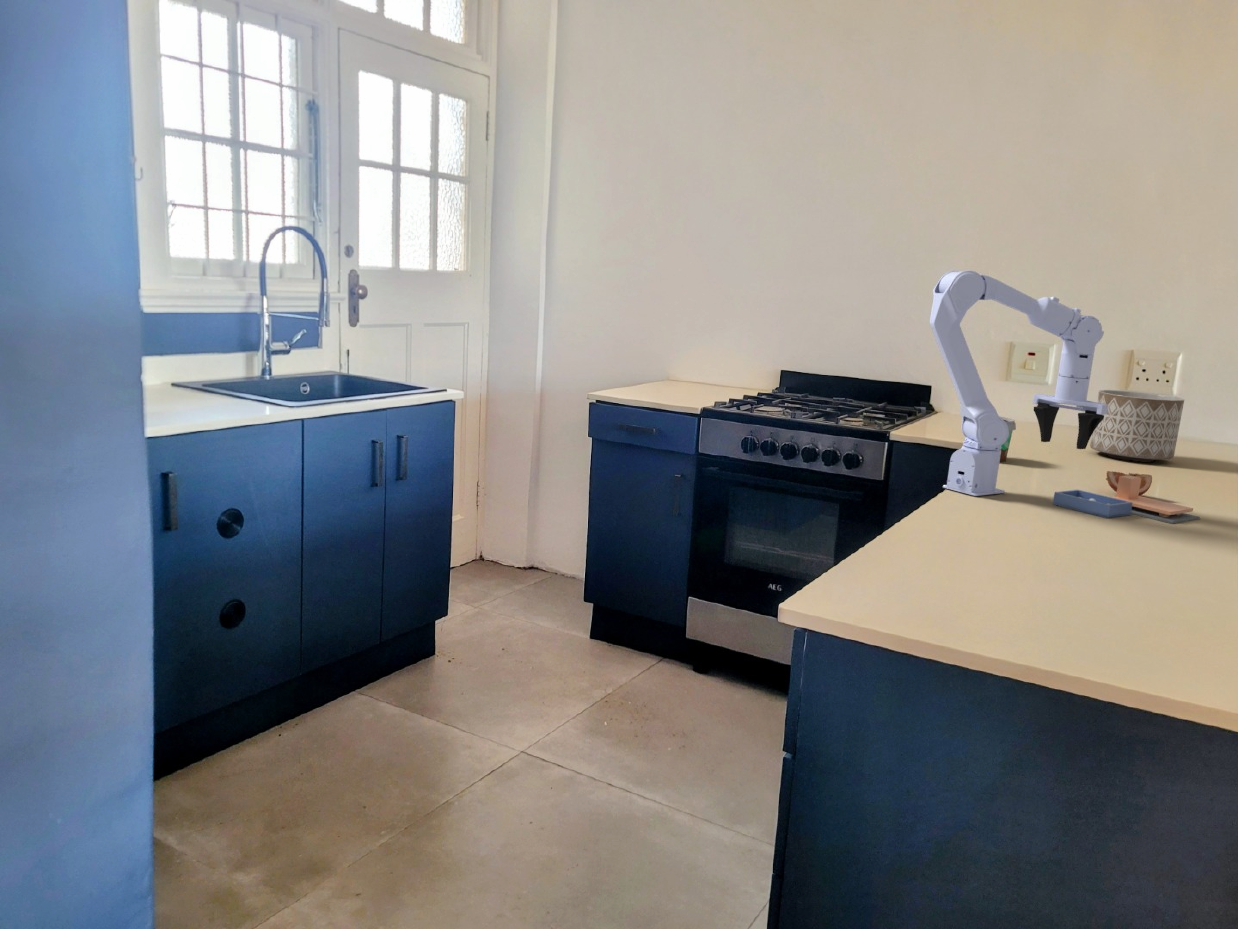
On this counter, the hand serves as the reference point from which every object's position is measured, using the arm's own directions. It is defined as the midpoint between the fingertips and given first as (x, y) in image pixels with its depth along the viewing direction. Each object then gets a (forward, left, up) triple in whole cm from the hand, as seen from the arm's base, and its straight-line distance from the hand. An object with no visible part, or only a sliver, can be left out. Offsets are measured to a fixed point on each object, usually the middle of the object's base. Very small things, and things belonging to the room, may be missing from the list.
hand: (1062, 445), depth 187 cm
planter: (+68, +22, -11) cm, 72 cm away
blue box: (-4, -10, -10) cm, 15 cm away
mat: (+6, -16, -10) cm, 20 cm away
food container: (+25, +31, -11) cm, 41 cm away
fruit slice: (+17, -5, -11) cm, 21 cm away
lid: (+6, -16, -9) cm, 19 cm away
